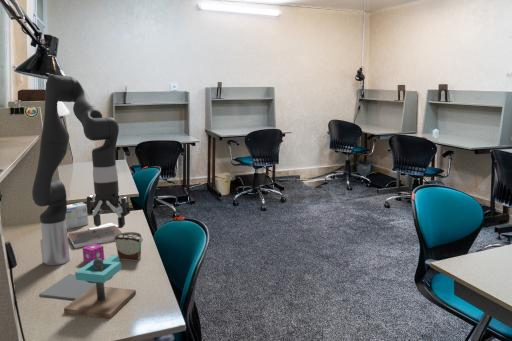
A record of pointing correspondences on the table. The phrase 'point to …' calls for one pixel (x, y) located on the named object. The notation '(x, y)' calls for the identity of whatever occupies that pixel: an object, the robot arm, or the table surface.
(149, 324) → the table surface
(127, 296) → the stand
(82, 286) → the mat
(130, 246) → the food container
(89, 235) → the picture frame
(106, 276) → the teal square racket
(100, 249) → the puzzle toy
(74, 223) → the light bulb box
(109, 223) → the external hard drive
